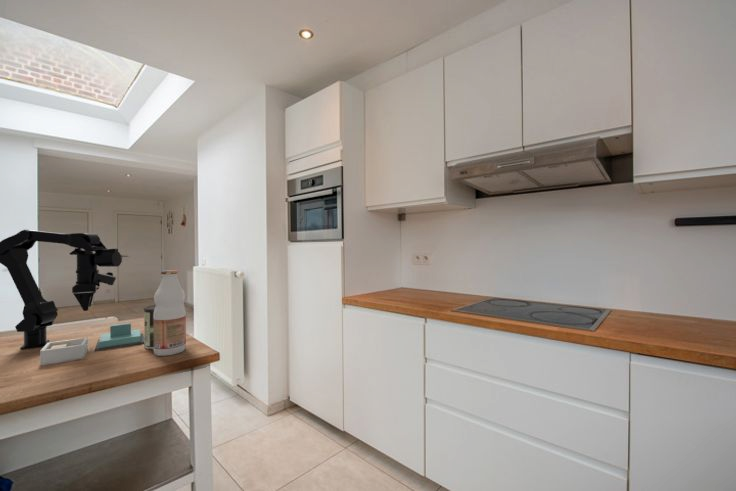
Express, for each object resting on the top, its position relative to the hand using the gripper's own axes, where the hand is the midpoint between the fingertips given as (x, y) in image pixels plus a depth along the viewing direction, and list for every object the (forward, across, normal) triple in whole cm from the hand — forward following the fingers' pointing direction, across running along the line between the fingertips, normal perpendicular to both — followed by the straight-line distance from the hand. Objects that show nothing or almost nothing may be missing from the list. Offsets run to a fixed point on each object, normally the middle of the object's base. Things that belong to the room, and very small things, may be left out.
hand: (87, 308), depth 117 cm
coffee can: (+13, -18, -22) cm, 31 cm away
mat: (+13, -6, -10) cm, 17 cm away
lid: (+12, -6, -10) cm, 17 cm away
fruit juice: (+13, -29, -24) cm, 40 cm away
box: (+13, -15, +4) cm, 20 cm away
